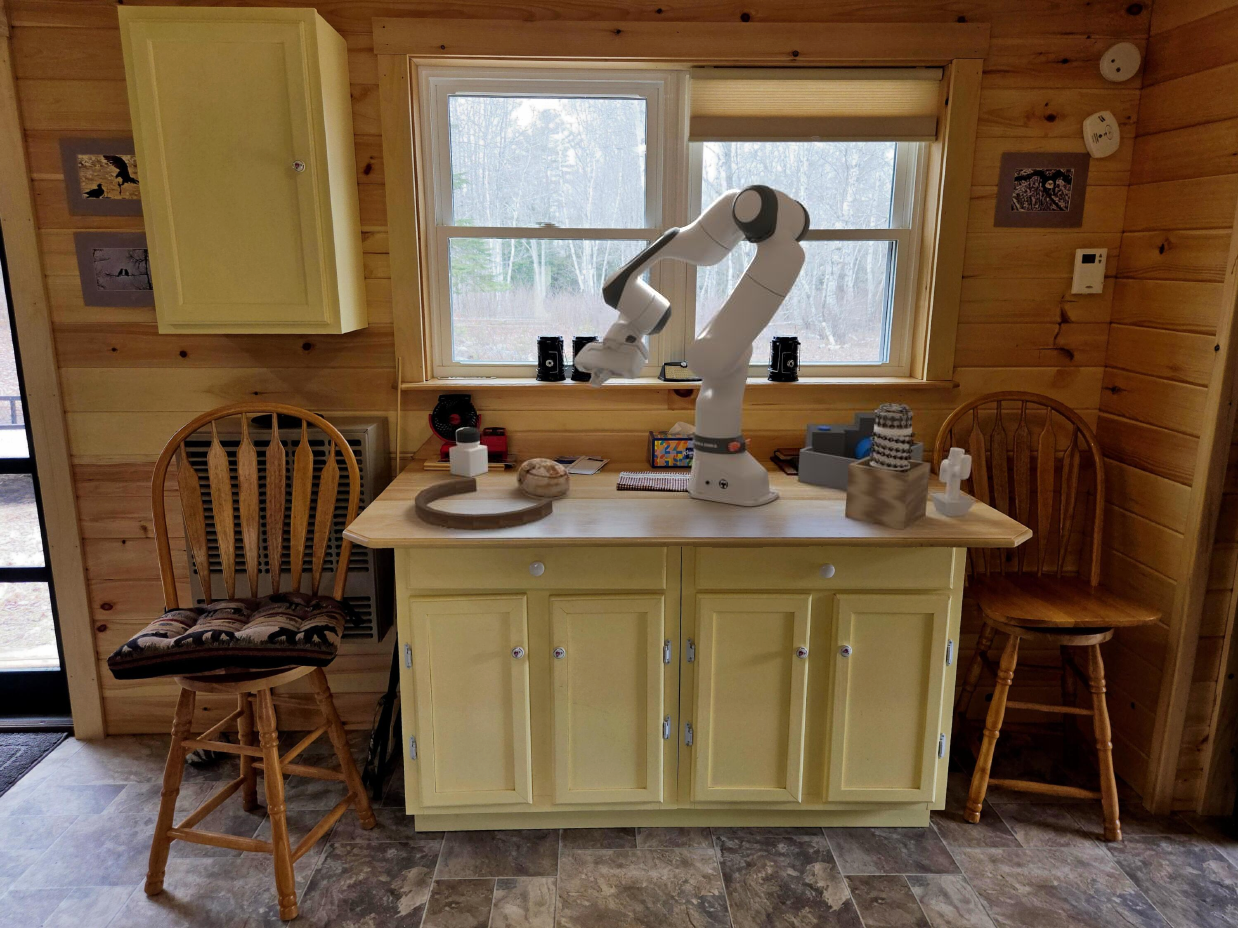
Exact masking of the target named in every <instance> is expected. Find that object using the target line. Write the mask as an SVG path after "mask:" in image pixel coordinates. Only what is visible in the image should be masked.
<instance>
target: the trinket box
mask: <svg viewBox="0 0 1238 928" xmlns="http://www.w3.org/2000/svg"><path fill="white" fill-rule="evenodd" d="M516 483H517V485H518V486H519V488H520V490H521V492H522V493H523V494H524V495H526V496H528V497H530V498H533V499H538V500H545V499H552V500H559V499H562V498H564V497H566V495H567V492H568V491H569V489H570V487H571V477H570V474H569V472H568V470H567V468H566V467H565V466H563V465H562V464H560V463H558V462H556V461H554V460H552V459H550V458H549V459H548V458H540V457H539V458H538V457H537V458H533V459H529V460H526V461H524V462H523V463H522V464H521V465H520V467H519V468H518V470H517V473H516Z"/></svg>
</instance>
